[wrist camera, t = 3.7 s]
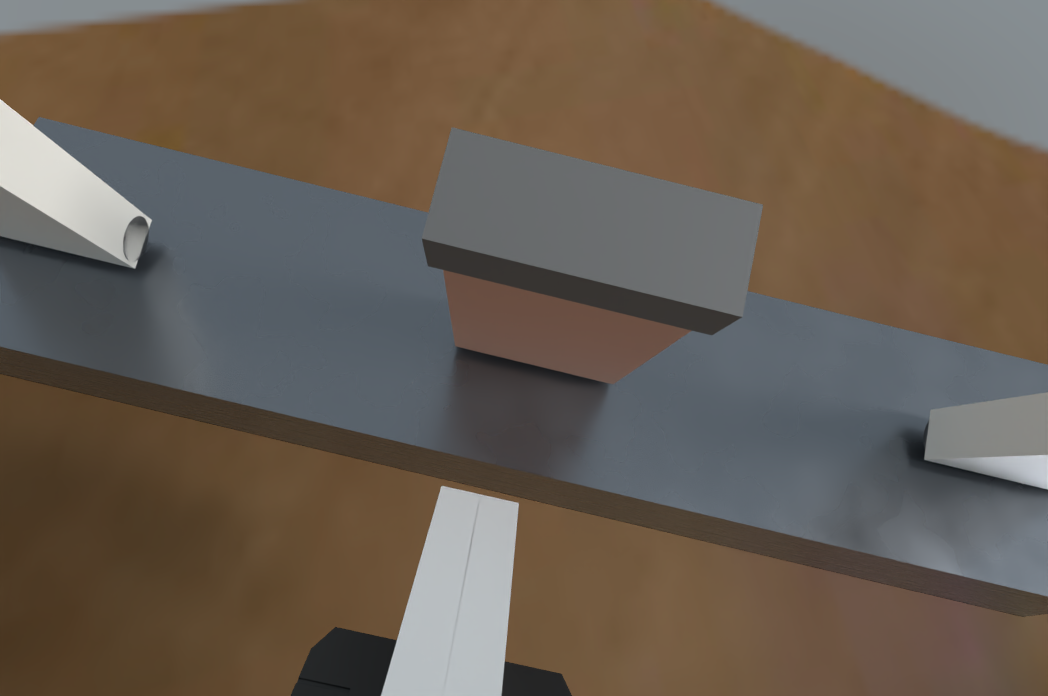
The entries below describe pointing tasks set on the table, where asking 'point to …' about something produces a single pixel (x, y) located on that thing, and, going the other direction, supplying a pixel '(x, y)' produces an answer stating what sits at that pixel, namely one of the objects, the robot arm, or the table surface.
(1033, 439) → the lever right
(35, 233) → the lever left
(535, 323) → the lever middle
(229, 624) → the table surface
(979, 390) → the switch panel
